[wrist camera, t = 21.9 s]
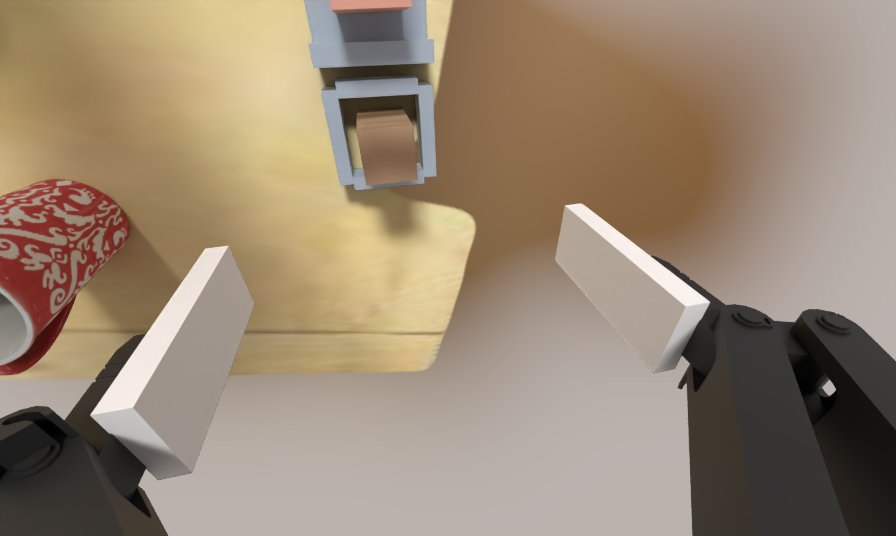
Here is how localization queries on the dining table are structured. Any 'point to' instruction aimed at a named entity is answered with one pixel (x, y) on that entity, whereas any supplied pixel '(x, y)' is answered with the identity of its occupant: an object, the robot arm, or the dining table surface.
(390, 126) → the brown wooden block
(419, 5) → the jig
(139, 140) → the dining table surface
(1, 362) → the mug
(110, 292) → the dining table surface
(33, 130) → the dining table surface
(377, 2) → the tall salmon pink prism
